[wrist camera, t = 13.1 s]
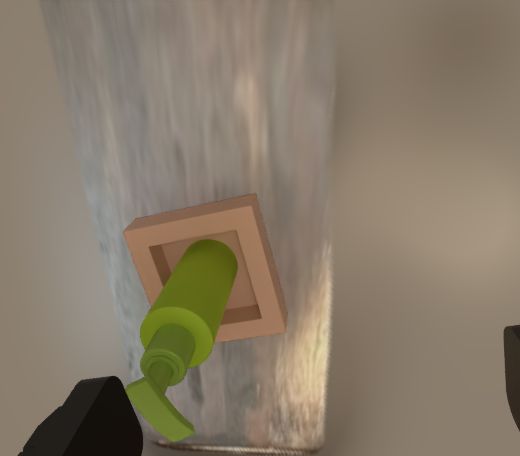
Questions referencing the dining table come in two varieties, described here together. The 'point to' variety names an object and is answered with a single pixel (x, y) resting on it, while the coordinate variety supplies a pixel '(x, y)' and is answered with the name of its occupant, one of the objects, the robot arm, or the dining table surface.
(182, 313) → the green pump bottle
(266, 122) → the dining table surface
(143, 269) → the tray
